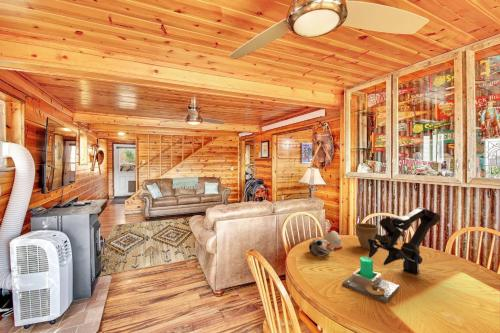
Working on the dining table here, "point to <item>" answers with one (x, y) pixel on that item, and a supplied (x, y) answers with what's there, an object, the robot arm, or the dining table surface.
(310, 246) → the lucky cat figurine
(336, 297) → the dining table surface
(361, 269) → the candle
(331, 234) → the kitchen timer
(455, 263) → the dining table surface
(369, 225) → the plant pot
